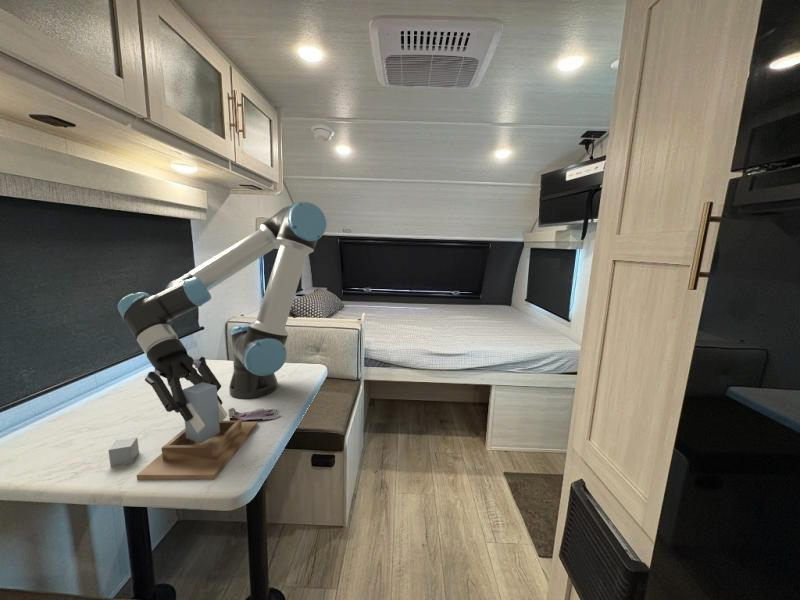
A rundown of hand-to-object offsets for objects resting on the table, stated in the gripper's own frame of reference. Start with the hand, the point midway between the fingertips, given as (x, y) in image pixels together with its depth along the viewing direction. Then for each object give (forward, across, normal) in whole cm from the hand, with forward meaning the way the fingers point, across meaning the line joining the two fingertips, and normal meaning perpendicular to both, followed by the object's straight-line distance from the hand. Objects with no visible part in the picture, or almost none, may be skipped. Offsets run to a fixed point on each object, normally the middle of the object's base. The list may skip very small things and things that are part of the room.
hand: (212, 423), depth 77 cm
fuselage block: (0, 0, -5) cm, 5 cm away
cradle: (+3, 0, -8) cm, 8 cm away
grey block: (-6, +10, -17) cm, 21 cm away
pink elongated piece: (+3, -16, -9) cm, 18 cm away
